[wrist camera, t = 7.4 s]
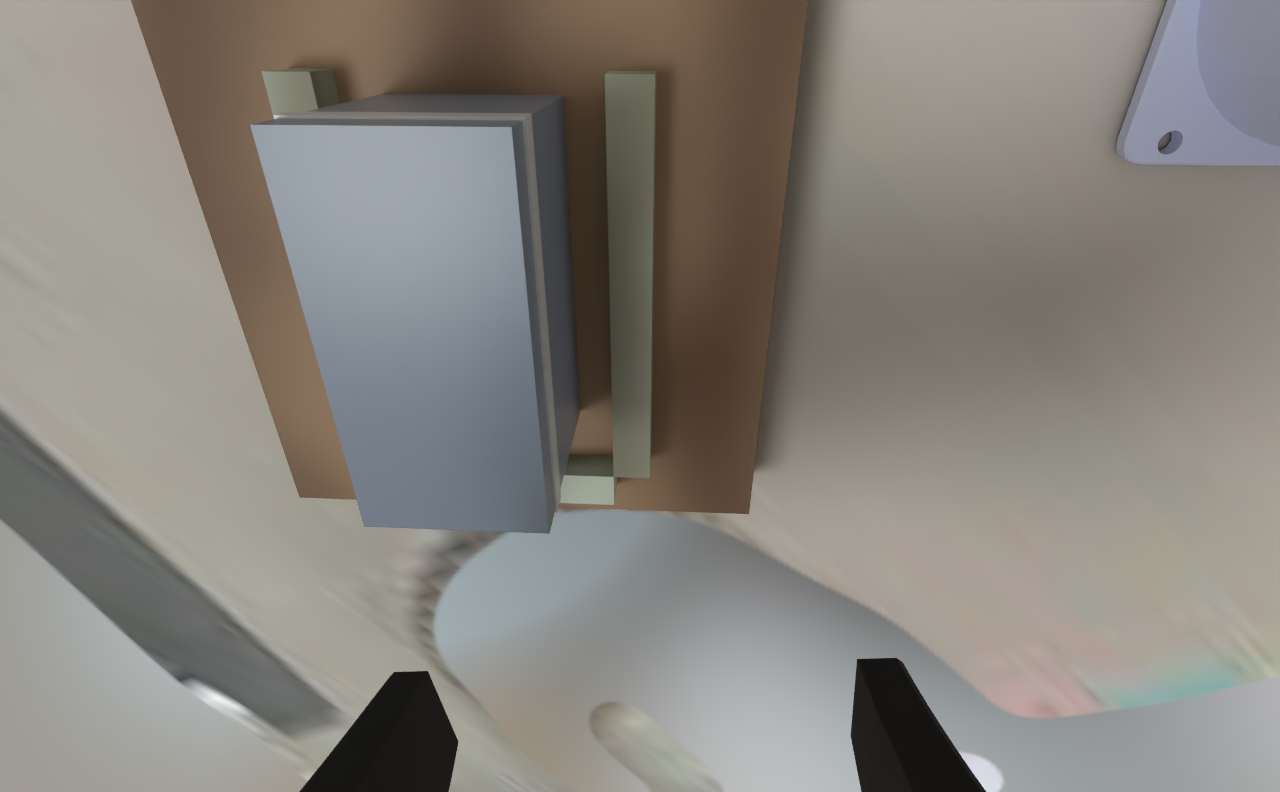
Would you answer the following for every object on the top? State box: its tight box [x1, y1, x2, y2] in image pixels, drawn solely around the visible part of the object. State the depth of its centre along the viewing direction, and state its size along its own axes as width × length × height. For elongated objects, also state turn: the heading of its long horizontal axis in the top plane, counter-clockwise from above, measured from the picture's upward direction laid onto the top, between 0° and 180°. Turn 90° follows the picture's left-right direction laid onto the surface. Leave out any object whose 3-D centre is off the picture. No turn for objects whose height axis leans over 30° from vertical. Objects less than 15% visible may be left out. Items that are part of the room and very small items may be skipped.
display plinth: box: [131, 0, 808, 514], centre depth 17 cm, size 14×14×3 cm
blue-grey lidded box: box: [250, 94, 581, 533], centre depth 14 cm, size 4×8×5 cm, turn 0°
